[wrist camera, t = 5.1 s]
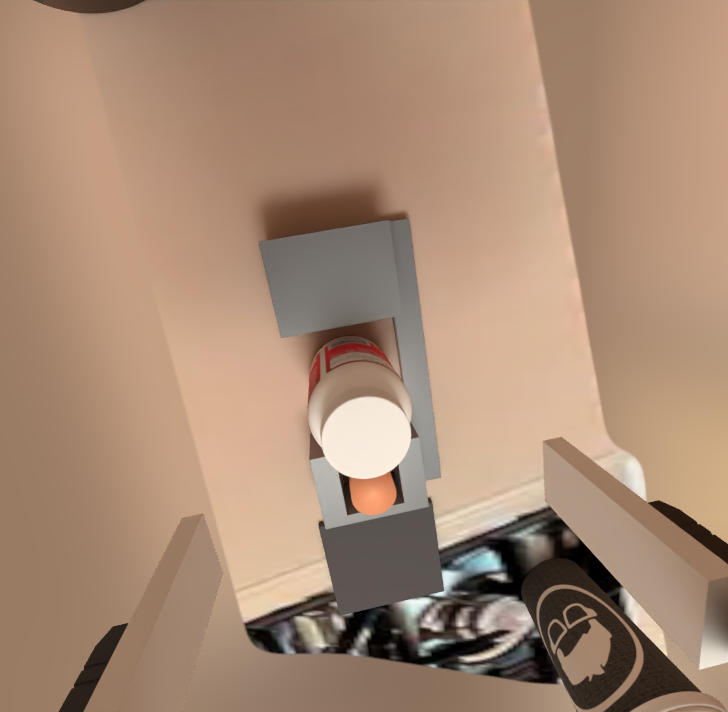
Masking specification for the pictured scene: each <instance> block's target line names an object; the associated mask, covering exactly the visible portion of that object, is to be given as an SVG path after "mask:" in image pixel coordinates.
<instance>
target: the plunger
mask: <svg viewBox="0 0 728 712" xmlns="http://www.w3.org/2000/svg"><path fill="white" fill-rule="evenodd" d="M348 477H349V476H348ZM349 484H350V492H351V499H352V503H353V505H354V507H355V508H356V509H357V510H358V511H359V512H361V513H363V514H366V515H378V514H381V513H384V512H385V511H387V510H388V509H389V508H391V506H392V505H393V504H394V502H395V499H396V494H397V493H396V488H395V485H394V482H393V479H392V476H391V473H390V471H389V472H388V473H386V474H384V475H381V476H378V477H375V478H369V479H357V478H352V477H349Z"/></svg>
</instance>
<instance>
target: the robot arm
mask: <svg viewBox="0 0 728 712" xmlns="http://www.w3.org/2000/svg"><path fill="white" fill-rule="evenodd" d="M34 1H37V2H39V3H42V4H44V5H47V6H50V7H54V8H57V9H61V10H66V11H71V12H78V13H107V12H113V11H118V10H122V9H125V8H128V7H131V6H134V5H136V4H138V3H140V2H142V1H144V0H34ZM543 460H544V486H545V501H546V502H547V503H548V504H549V506H550V507H551V508H552V509H553V510H554V511H555V512H556V513H557V514H558V515H559V517H560V518H561V519H562V520H563V521H564V522H565V523H566V524H567V525H568V526H569V528H570V529H571V530H572V531H573V532H574V533H575V534H576V535H577V536H578V537H579V538H580V540H581V541H582V542H583V543H584V544H585V545H586V546H587V547H588V548H589V549H590V551H591V552H592V553H593V554H594V555H595V556H596V557H597V558H598V559H599V560H600V562H601V563H602V564H603V565H604V566H605V567H606V568H607V569H608V570H609V571H610V573H611V574H612V575H613V576H614V577H615V578H616V579H617V580H618V581H619V582H620V584H621V585H622V586H623V587H624V588H625V589H626V590H627V591H628V592H629V593H630V595H631V596H632V597H633V598H634V599H635V600H636V601H637V602H638V603H639V604H640V606H641V607H642V608H643V609H644V610H645V611H646V612H647V613H648V614H649V615H650V617H651V618H652V619H653V620H654V621H655V622H656V623H657V624H658V625H659V626H660V628H661V629H662V630H663V631H664V632H665V633H666V634H667V635H668V636H669V637H670V638H671V640H672V641H673V642H674V643H675V644H676V645H677V646H678V647H679V648H680V650H682V652H683V653H684V654H685V655H686V656H687V657H688V658H689V659H690V660H691V662H692V663H693V664H694V665H695V666H696V667H697V668H698V669H699V670H700V669H704V668H708V667H711V666H715V665H719V664H723V663H726V662H728V544H727V543H726V542H724V541H723V540H721V539H720V538H718V537H717V536H716V535H712V534H711V532H710V531H709V530H707V529H706V528H705V527H703V526H702V525H700V524H699V525H698V524H697V522H696V521H695V520H693V519H692V518H691V517H689V516H688V515H686V514H685V513H684V512H682V511H681V510H679V509H677V508H675V507H673V506H670V505H668V504H666V503H663V502H661V501H659V500H658V501H654V502H649V503H647V502H646V501H644V500H643V499H642V498H640V497H639V496H638V495H637V494H635V493H634V492H633V491H631V490H630V489H629V488H627V487H626V486H625V485H623V484H622V483H621V482H620V481H618V480H617V479H616V478H614V477H613V476H612V475H610V474H609V473H608V472H606V471H605V470H604V469H603V468H601V467H600V466H599V465H597V464H596V463H595V462H593V461H592V460H591V459H589V458H588V457H587V456H586V455H584V454H583V453H582V452H580V451H579V450H578V449H576V448H575V447H574V446H572V445H571V444H570V443H569V442H567V441H566V440H565V439H563V438H562V437H559V438H555V439H550V440H545V441H543ZM222 575H223V571H222V569H221V566H220V562H219V559H218V556H217V554H216V551H215V548H214V545H213V542H212V539H211V536H210V533H209V530H208V527H207V524H206V521H205V518H204V515H203V514H199V515H195V516H189V517H185V518H182V519H181V521H180V523H179V525H178V527H177V529H176V531H175V533H174V535H173V537H172V539H171V541H170V543H169V545H168V547H167V549H166V551H165V553H164V554H163V556H162V558H161V560H160V562H159V564H158V566H157V568H156V570H155V572H154V574H153V576H152V578H151V580H150V582H149V584H148V586H147V588H146V590H145V592H144V594H143V596H142V598H141V600H140V602H139V604H138V606H137V608H136V610H135V612H134V613H133V616H132V618H131V619H130V621H129V623H126V624H122V625H118V626H114V627H112V628H111V630H110V631H109V632H108V633H107V634H106V635H105V636H104V637H103V639H101V641H100V642H99V643H98V644H97V645H96V646H95V648H94V650H93V652H92V653H91V655H90V657H89V659H88V661H87V662H86V664H85V666H84V670H83V671H81V673H80V675H79V677H78V678H77V680H76V682H75V684H74V688H73V689H71V691H70V693H69V694H68V696H67V698H66V700H65V701H64V703H63V705H62V707H61V709H60V711H59V712H182V710H183V707H184V704H185V700H186V697H187V694H188V690H189V686H190V683H191V680H192V677H193V673H194V670H195V666H196V663H197V660H198V656H199V653H200V649H201V646H202V642H203V639H204V635H205V632H206V629H207V626H208V622H209V619H210V616H211V612H212V608H213V605H214V602H215V599H216V595H217V592H218V588H219V585H220V582H221V578H222Z"/></svg>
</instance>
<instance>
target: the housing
mask: <svg viewBox="0 0 728 712" xmlns="http://www.w3.org/2000/svg"><path fill="white" fill-rule="evenodd" d="M259 246H260V250H261V254H262V259H263V263H264V267H265V272H266V276H267V280H268V284H269V289H270V293H271V297H272V302H273V306H274V310H275V314H276V319H277V323H278V327H279V332H280V336H281V338H285V337H290V336H295V335H301V334H306V333H311V332H317V331H322V330H328V329H333V328H338V327H344V326H349V325H354V324H360V323H365V322H370V321H376V320H381V319H387V318H392V317H393V322H394V329H395V336H396V343H397V349H398V356H399V363H400V370H401V377H402V381H403V383H404V385H405V387H406V389H407V391H408V393H409V396H410V399H411V405H412V416H411V422H410V427H411V442H410V446H409V449H408V451H407V453H406V455H405V457H404V458H403V459H402V461H401V462H400V463H399V464H398V465H397V466H396V467H395V468H394V474H391V476H392V479H393V482H394V485H395V488H396V493H397V494H396V499H395V502H394V504H393V505H392V506H391V508H389V509H388V510H387V511H385V512H384V513H381V514H378V515H366V514H363V513H361V512H359V511H358V510H357V509H356V508H355V507H354V505H353V503H352V499H351V492H350V484H349V483H347V484H344V483H343V478H342V473H340V472H338V471H337V470H336V469H335V468H333V467H332V466H331V465H330V463H329V462H328V461H327V459H326V457H325V455H324V453H323V450H322V447H321V446H320V445H319V444H318V443H317V441H316V440H315V438H314V436H313V435H312V434H310V459H309V460H310V464H311V469H312V473H313V477H314V482H315V486H316V490H317V494H318V499H319V503H320V507H321V512H322V516H323V520H324V525H325V529H330V528H334V527H339V526H344V525H348V524H353V523H357V522H362V521H366V520H371V519H375V518H380V517H384V516H389V515H393V514H398V513H402V512H407V511H412V510H416V509H421V508H425V507H429V505H428V497H427V490H426V483H425V481H427V480H432V479H436V478H441V472H440V463H439V455H438V447H437V439H436V431H435V423H434V415H433V407H432V399H431V391H430V383H429V374H428V366H427V358H426V350H425V342H424V334H423V326H422V318H421V310H420V302H419V294H418V285H417V277H416V269H415V261H414V253H413V245H412V237H411V229H410V221H409V218H408V219H402V220H396V221H391V222H390V221H389V220H385V221H379V222H373V223H367V224H361V225H355V226H350V227H344V228H338V229H332V230H326V231H320V232H314V233H308V234H302V235H296V236H290V237H284V238H279V239H273V240H267V241H261V242H259Z"/></svg>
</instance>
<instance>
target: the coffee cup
mask: <svg viewBox="0 0 728 712" xmlns="http://www.w3.org/2000/svg"><path fill="white" fill-rule="evenodd" d="M521 594H522V598H523V600H524V603H525V605H526V607H527V609H528V611H529V613H530V615H531V617H532V619H533V621H534V623H535V625H536V628H537V630H538V632H539V634H540V636H541V638H542V640H543V642H544V644H545V646H546V648H547V650H548V653H549V655H550V657H551V659H552V661H553V663H554V665H555V667H556V669H557V671H558V673H559V675H560V678H561V680H562V682H563V684H564V686H565V688H566V690H567V692H568V694H569V696H570V698H571V701H572V702H573V705H574V707H575V709H576V711H577V712H727V711H726V709H725V707H724V706H723V704H722V703H721V702H720V701H719V700H717V699H716V698H714V697H713V696H710V695H708V694H705V693H702V692H701V691H700V690H699V689H698V688H697V687H696V686H695V685H694V684H693V683H692V682H691V681H690V680H689V679H688V678H687V677H686V676H685V675H684V674H683V673H682V672H681V671H680V670H679V669H678V668H677V667H676V666H675V665H674V664H673V663H672V662H671V661H670V660H669V659H668V658H667V657H666V656H665V654H664V653H663V652H662V651H661V650H660V649H659V648H658V647H657V646H656V645H655V644H654V643H653V642H652V641H651V640H650V639H649V638H648V637H647V636H646V635H645V634H644V633H643V632H642V631H641V630H640V629H639V628H638V627H637V626H636V625H635V624H634V623H633V622H632V621H631V619H630V618H629V617H628V616H627V615H626V614H625V613H624V612H623V611H622V610H621V609H620V608H619V607H618V606H617V605H616V604H615V603H614V602H613V601H612V600H611V599H610V598H609V597H608V596H607V595H606V594H605V593H604V592H603V591H602V590H601V589H600V587H599V586H598V585H597V584H596V583H595V582H594V581H593V580H592V579H591V578H590V577H589V576H588V575H587V574H586V573H585V572H584V571H583V570H582V569H581V568H580V567H579V566H578V565H577V564H576V563H575V562H573V561H571V560H568V559H564V558H555V559H550V560H547V561H544V562H542V563H540V564H539V565H537V566H536V567H534V568H533V569H532V570H531V571H530V572H529V573H528V574H527V576H526V577H525V579H524V581H523V584H522V588H521Z"/></svg>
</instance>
